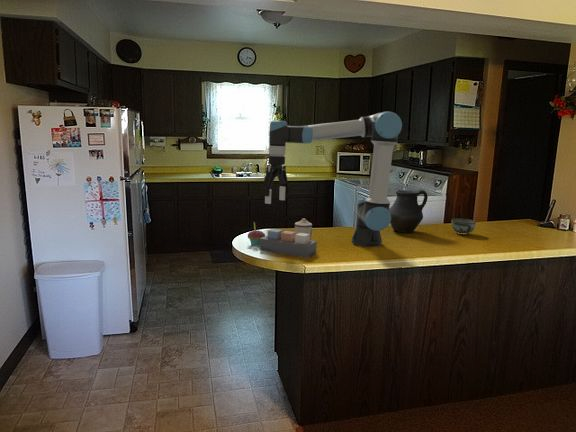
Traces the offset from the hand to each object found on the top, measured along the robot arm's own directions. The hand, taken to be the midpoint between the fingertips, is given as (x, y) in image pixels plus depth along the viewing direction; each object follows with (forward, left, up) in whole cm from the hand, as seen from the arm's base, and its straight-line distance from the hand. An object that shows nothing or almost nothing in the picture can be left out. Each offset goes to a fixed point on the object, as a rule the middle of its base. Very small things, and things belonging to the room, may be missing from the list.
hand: (275, 201), depth 203 cm
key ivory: (-15, +1, -18) cm, 24 cm away
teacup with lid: (-5, -22, -22) cm, 31 cm away
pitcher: (-46, -77, -22) cm, 92 cm away
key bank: (-8, +1, -22) cm, 24 cm away
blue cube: (-1, +1, -18) cm, 18 cm away
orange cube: (-8, +1, -18) cm, 20 cm away
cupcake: (+10, -1, -22) cm, 24 cm away
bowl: (-77, -90, -22) cm, 120 cm away
